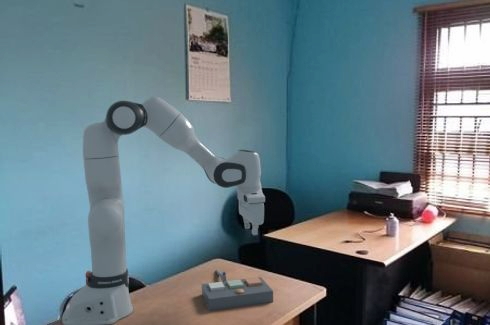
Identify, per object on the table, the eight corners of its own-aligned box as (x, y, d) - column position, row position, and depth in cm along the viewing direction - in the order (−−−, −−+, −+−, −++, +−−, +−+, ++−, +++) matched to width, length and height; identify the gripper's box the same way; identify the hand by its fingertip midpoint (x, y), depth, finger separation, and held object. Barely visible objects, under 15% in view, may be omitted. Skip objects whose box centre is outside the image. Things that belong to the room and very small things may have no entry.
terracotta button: (248, 291, 154) (248, 283, 153) (245, 286, 158) (245, 278, 158) (262, 290, 155) (261, 282, 155) (257, 285, 160) (257, 277, 159)
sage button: (230, 294, 152) (230, 286, 151) (227, 288, 156) (226, 281, 156) (243, 292, 153) (243, 284, 153) (240, 287, 158) (239, 279, 157)
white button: (211, 296, 150) (211, 288, 149) (208, 291, 155) (208, 283, 154) (224, 294, 151) (224, 286, 151) (221, 289, 156) (221, 281, 156)
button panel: (209, 310, 143) (209, 297, 143) (202, 294, 157) (201, 282, 156) (273, 301, 149) (273, 289, 149) (260, 287, 163) (260, 275, 162)
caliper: (226, 289, 162) (226, 273, 161) (223, 289, 162) (223, 273, 161) (218, 271, 182) (217, 257, 181) (215, 271, 182) (215, 257, 181)
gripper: (234, 190, 162) (235, 225, 163) (249, 199, 142) (250, 239, 144) (249, 189, 164) (251, 224, 165) (266, 198, 144) (268, 237, 146)
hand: (251, 231), depth 154 cm, fingers open, 8 cm apart
